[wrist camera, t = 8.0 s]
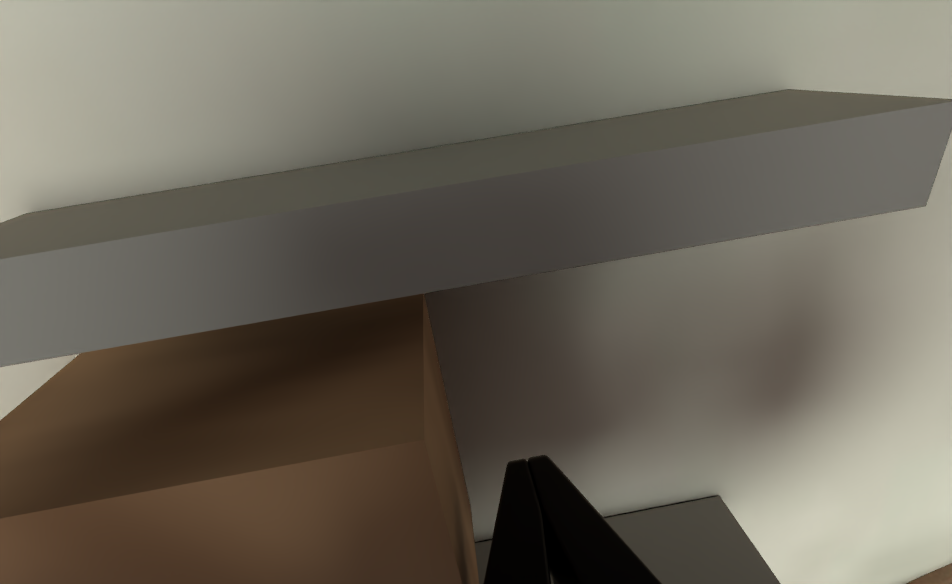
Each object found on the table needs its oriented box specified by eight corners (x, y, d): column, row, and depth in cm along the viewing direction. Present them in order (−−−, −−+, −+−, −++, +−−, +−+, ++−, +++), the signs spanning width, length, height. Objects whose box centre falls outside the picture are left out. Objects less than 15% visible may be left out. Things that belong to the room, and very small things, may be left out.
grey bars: (789, 89, 8) (961, 100, 6) (714, 525, 14) (781, 630, 12) (26, 213, 8) (-177, 288, 5) (275, 610, 14) (240, 741, 11)
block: (423, 285, 10) (424, 439, 6) (469, 500, 13) (491, 696, 9) (93, 342, 9) (-152, 547, 5) (225, 547, 13) (134, 770, 9)
